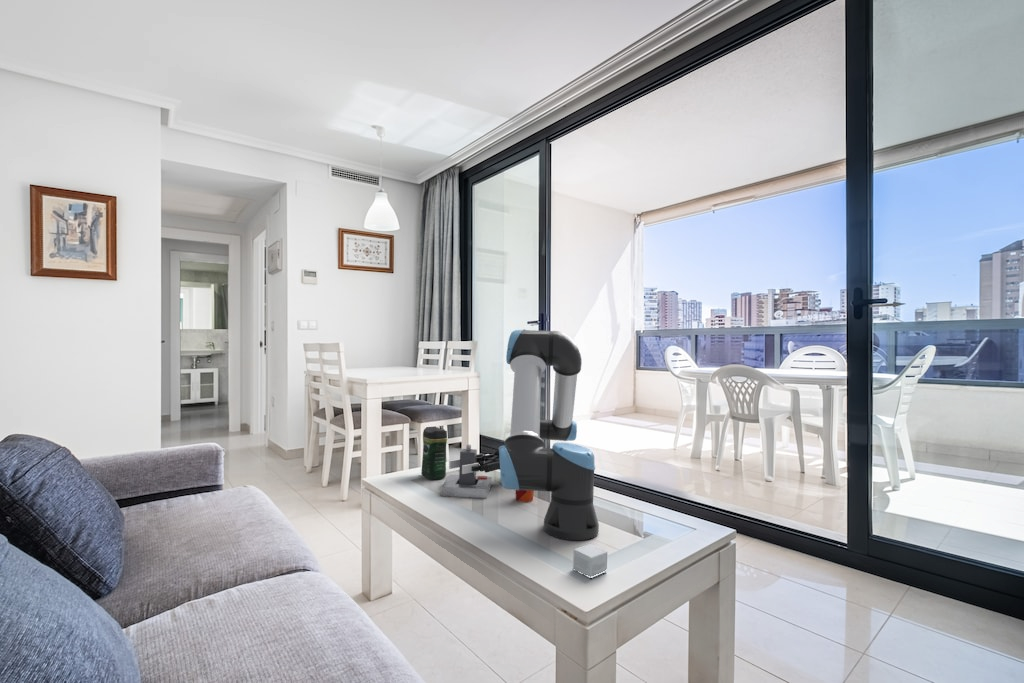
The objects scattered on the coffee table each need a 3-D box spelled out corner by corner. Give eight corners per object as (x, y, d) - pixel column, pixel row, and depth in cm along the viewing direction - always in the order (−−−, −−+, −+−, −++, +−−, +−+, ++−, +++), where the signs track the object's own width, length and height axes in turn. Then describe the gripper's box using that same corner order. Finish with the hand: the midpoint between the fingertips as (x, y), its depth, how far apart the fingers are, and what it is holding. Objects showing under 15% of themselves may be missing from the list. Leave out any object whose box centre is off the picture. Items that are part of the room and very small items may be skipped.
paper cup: (528, 504, 154) (530, 460, 154) (508, 500, 158) (509, 457, 158) (540, 498, 160) (541, 456, 161) (520, 494, 165) (521, 452, 165)
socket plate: (486, 498, 159) (486, 488, 159) (440, 495, 160) (441, 485, 160) (491, 485, 174) (491, 475, 174) (449, 482, 175) (450, 473, 175)
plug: (473, 488, 164) (475, 446, 164) (458, 487, 164) (460, 446, 164) (475, 483, 169) (477, 443, 169) (461, 483, 169) (462, 443, 169)
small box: (588, 563, 114) (589, 542, 114) (607, 573, 110) (608, 551, 110) (571, 570, 111) (572, 548, 111) (590, 580, 106) (591, 558, 106)
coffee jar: (449, 478, 180) (450, 428, 180) (429, 481, 175) (431, 430, 175) (437, 472, 188) (439, 424, 188) (418, 474, 183) (420, 425, 183)
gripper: (525, 474, 171) (473, 485, 156) (490, 462, 186) (439, 471, 171) (526, 453, 171) (474, 462, 156) (491, 443, 186) (440, 450, 171)
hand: (456, 467), depth 163 cm, fingers closed on plug, 7 cm apart
